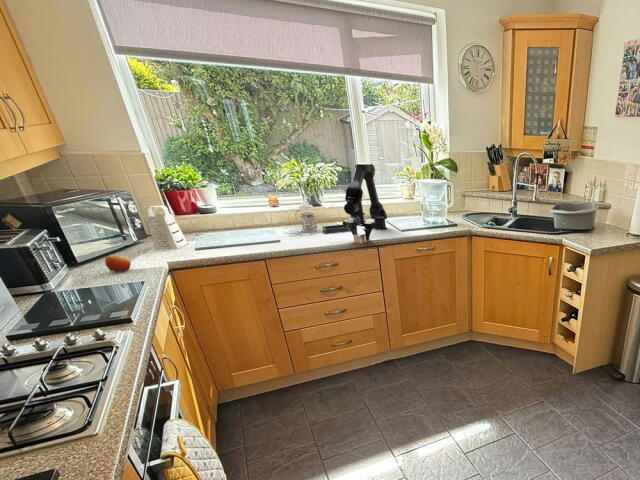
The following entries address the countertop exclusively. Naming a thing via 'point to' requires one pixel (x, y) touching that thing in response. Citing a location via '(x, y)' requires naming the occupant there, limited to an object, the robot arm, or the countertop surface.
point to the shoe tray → (334, 228)
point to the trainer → (360, 238)
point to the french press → (309, 217)
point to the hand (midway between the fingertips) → (361, 240)
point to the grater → (165, 230)
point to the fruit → (117, 263)
